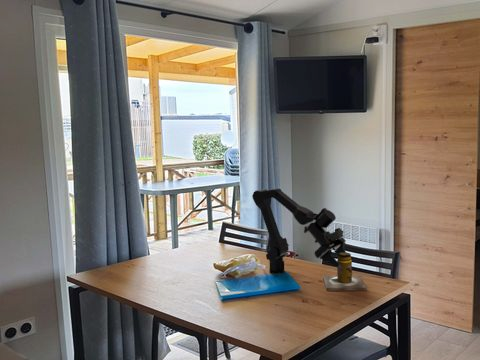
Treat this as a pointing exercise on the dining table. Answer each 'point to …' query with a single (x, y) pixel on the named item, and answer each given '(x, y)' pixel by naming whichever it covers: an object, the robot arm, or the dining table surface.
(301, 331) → the dining table surface
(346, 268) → the condiment
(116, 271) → the dining table surface
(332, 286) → the grey flat square slab
